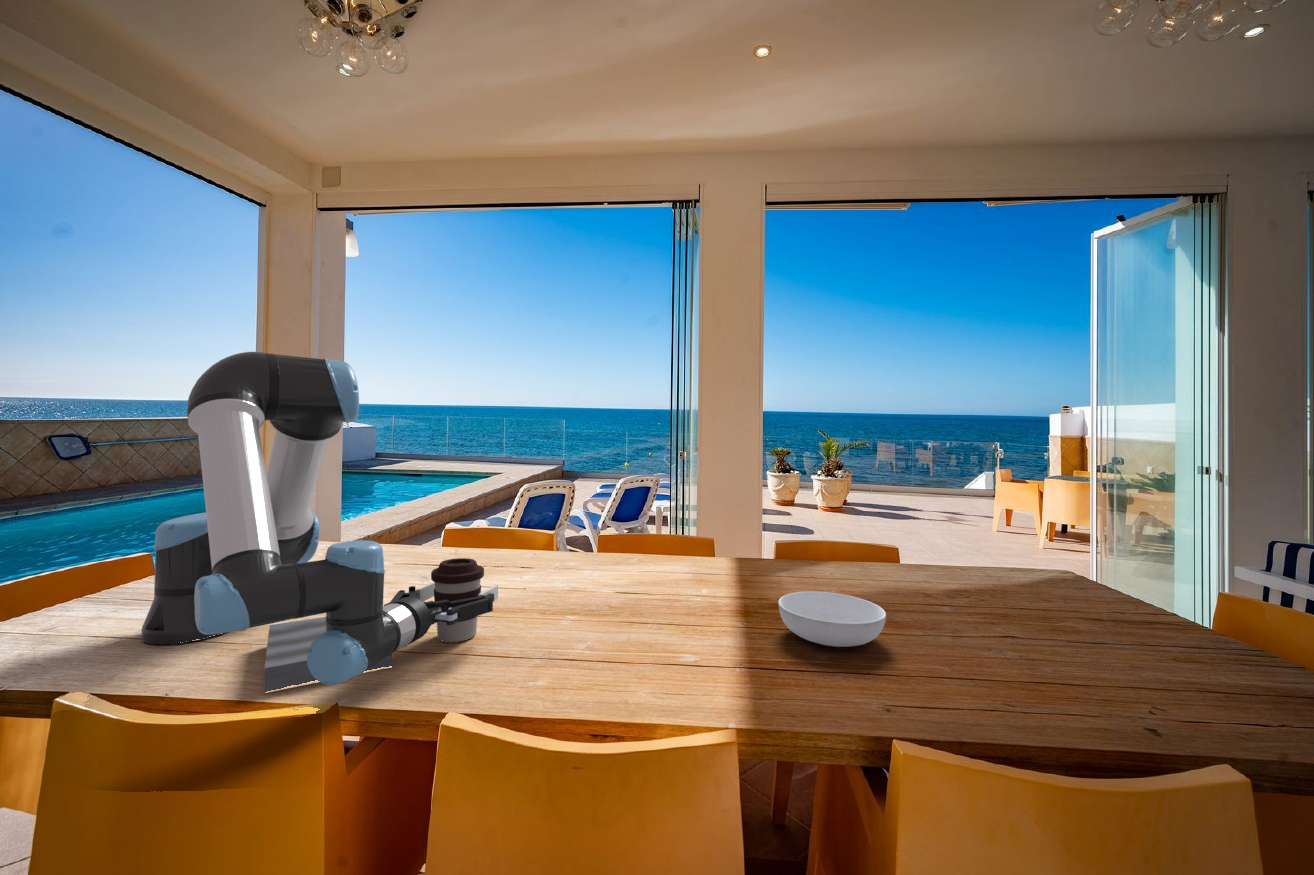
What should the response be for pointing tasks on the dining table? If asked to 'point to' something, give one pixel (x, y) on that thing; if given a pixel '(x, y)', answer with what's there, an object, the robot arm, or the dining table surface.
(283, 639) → the stand
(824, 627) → the serving bowl
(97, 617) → the dining table surface
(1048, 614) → the dining table surface
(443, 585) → the coffee cup
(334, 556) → the robot arm
